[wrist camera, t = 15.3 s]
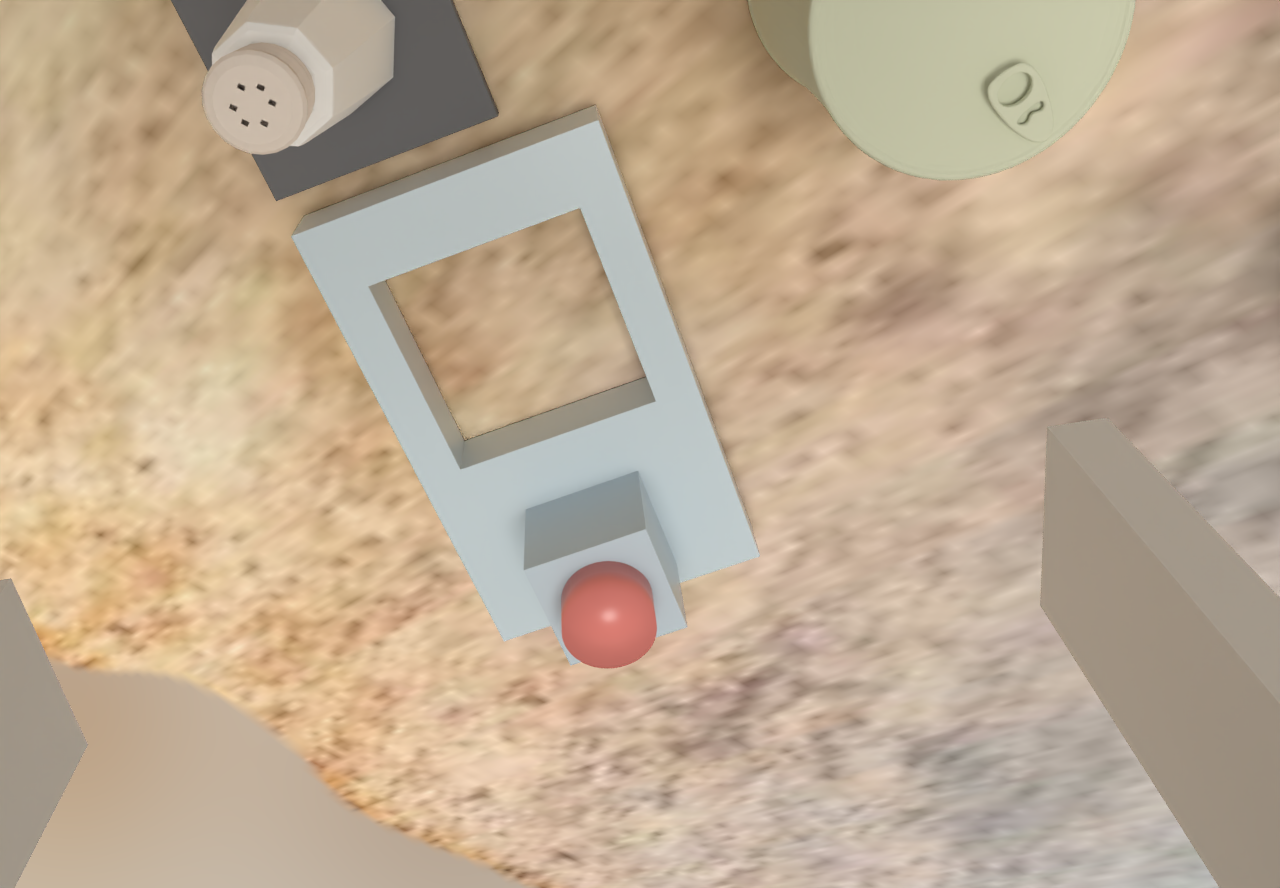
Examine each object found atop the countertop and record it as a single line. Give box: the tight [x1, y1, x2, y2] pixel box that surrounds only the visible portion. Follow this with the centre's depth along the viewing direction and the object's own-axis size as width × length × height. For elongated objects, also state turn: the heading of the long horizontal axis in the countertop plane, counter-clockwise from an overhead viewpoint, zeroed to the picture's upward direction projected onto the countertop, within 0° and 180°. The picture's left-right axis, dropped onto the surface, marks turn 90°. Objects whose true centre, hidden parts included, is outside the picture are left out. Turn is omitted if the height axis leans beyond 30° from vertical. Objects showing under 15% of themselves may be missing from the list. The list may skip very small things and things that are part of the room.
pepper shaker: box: [202, 0, 395, 155], centre depth 36 cm, size 5×5×11 cm
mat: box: [171, 0, 499, 201], centre depth 42 cm, size 9×9×1 cm
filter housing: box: [291, 105, 760, 665], centre depth 46 cm, size 20×12×7 cm, turn 20°
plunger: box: [561, 561, 657, 668], centre depth 45 cm, size 4×4×2 cm
